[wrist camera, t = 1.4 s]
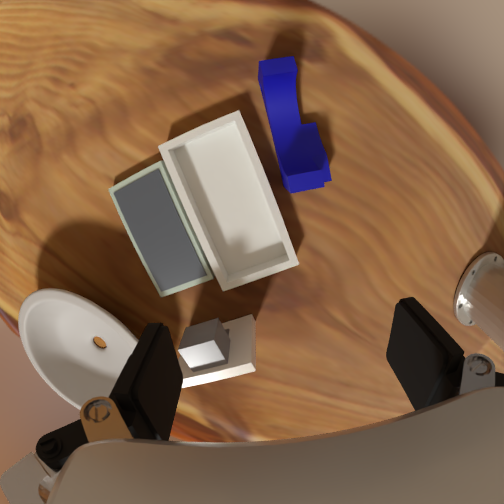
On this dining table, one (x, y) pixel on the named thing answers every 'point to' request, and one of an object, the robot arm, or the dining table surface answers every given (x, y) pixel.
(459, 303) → the robot arm
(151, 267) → the phone
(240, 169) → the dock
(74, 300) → the soup bowl
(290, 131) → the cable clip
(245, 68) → the dining table surface
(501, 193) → the dining table surface
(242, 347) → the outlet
